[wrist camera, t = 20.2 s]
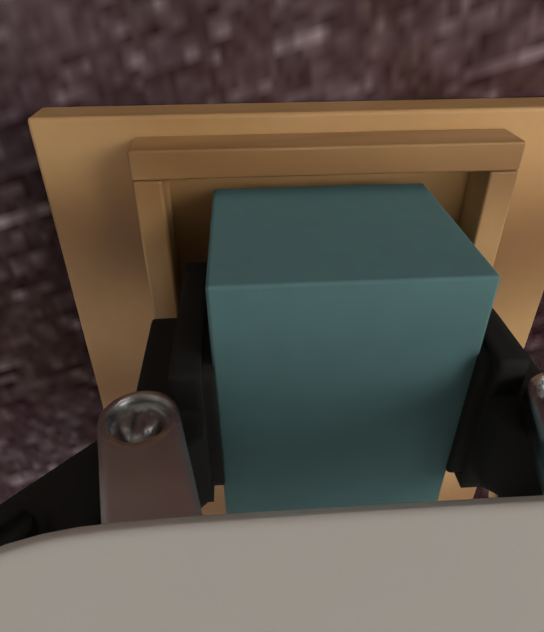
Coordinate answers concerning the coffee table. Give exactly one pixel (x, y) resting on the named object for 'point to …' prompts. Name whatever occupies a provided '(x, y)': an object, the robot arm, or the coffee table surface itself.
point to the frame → (268, 172)
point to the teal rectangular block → (340, 342)
